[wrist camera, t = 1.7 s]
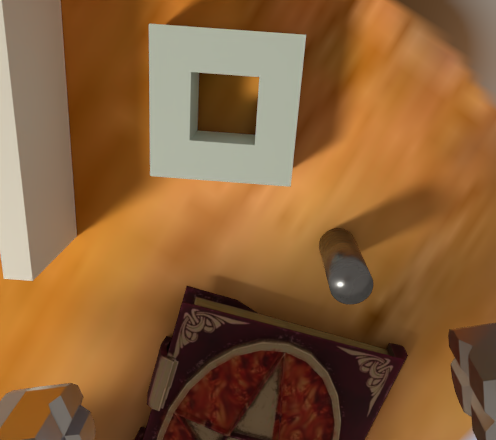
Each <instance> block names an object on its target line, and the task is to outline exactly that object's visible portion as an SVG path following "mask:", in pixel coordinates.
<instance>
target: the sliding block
mask: <svg viewBox="0 0 496 440" xmlns="http://www.w3.org/2000/svg"><path fill="white" fill-rule="evenodd" d="M305 42H306V35H303V34H289V33H275V32H260V31H246V30H232V29H218V28H204V27H189V26H175V25H161V24H149V106H150V176H156V177H170V178H183V179H197V180H210V181H223V182H237V183H250V184H264V185H277V186H290V187H291V178H292V168H293V158H294V149H295V139H296V129H297V120H298V110H299V100H300V90H301V81H302V71H303V61H304V52H305ZM199 73H211V74H225V75H239V76H253V77H260V78H259V91H258V105H257V119H256V133H255V135H253V134H239V133H225V132H212V131H198V98H199Z"/></svg>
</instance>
